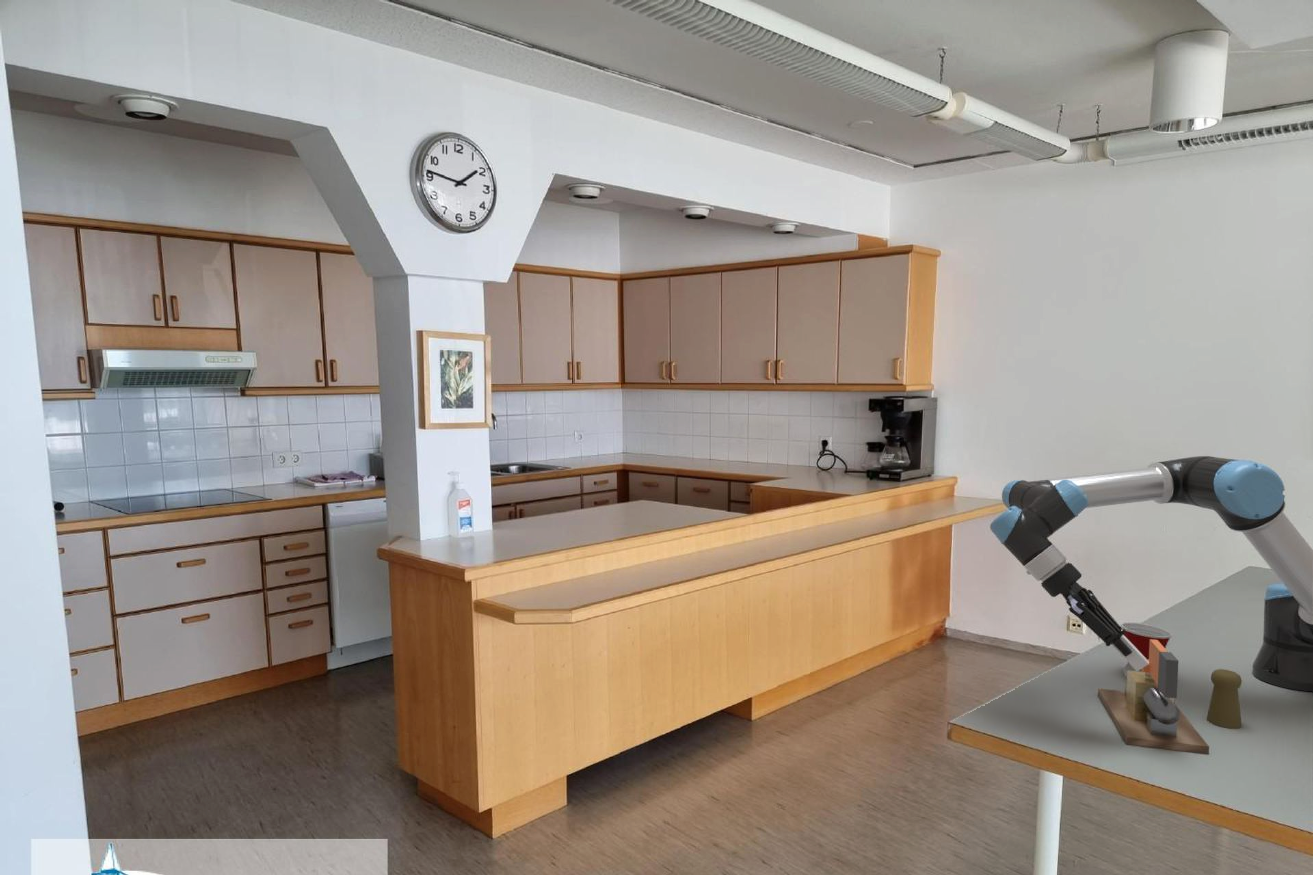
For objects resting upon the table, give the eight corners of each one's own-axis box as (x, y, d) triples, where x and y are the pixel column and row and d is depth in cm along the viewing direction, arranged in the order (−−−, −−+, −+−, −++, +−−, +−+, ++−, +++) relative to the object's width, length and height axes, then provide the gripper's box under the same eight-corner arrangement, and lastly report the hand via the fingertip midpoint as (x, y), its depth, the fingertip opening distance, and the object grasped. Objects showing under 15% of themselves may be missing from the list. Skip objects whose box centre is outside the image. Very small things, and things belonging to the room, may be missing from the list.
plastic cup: (1178, 686, 190) (1180, 635, 189) (1127, 682, 192) (1129, 633, 191) (1159, 669, 200) (1161, 622, 199) (1111, 666, 202) (1113, 619, 202)
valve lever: (1138, 671, 172) (1140, 633, 171) (1158, 673, 170) (1159, 635, 170) (1159, 701, 156) (1161, 659, 155) (1181, 703, 155) (1183, 661, 154)
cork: (1242, 730, 166) (1245, 678, 165) (1207, 724, 169) (1209, 672, 168) (1240, 720, 171) (1243, 669, 170) (1206, 714, 174) (1208, 664, 173)
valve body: (1151, 695, 180) (1153, 660, 180) (1186, 741, 157) (1188, 701, 157) (1116, 691, 182) (1117, 657, 182) (1145, 736, 160) (1147, 697, 159)
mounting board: (1168, 702, 180) (1168, 695, 180) (1208, 753, 156) (1209, 746, 155) (1097, 694, 184) (1098, 688, 184) (1126, 744, 160) (1126, 736, 160)
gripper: (1046, 576, 176) (1131, 667, 167) (1032, 589, 166) (1122, 686, 157) (1074, 555, 173) (1163, 647, 164) (1061, 567, 162) (1155, 665, 153)
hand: (1143, 666), depth 160 cm, fingers closed
